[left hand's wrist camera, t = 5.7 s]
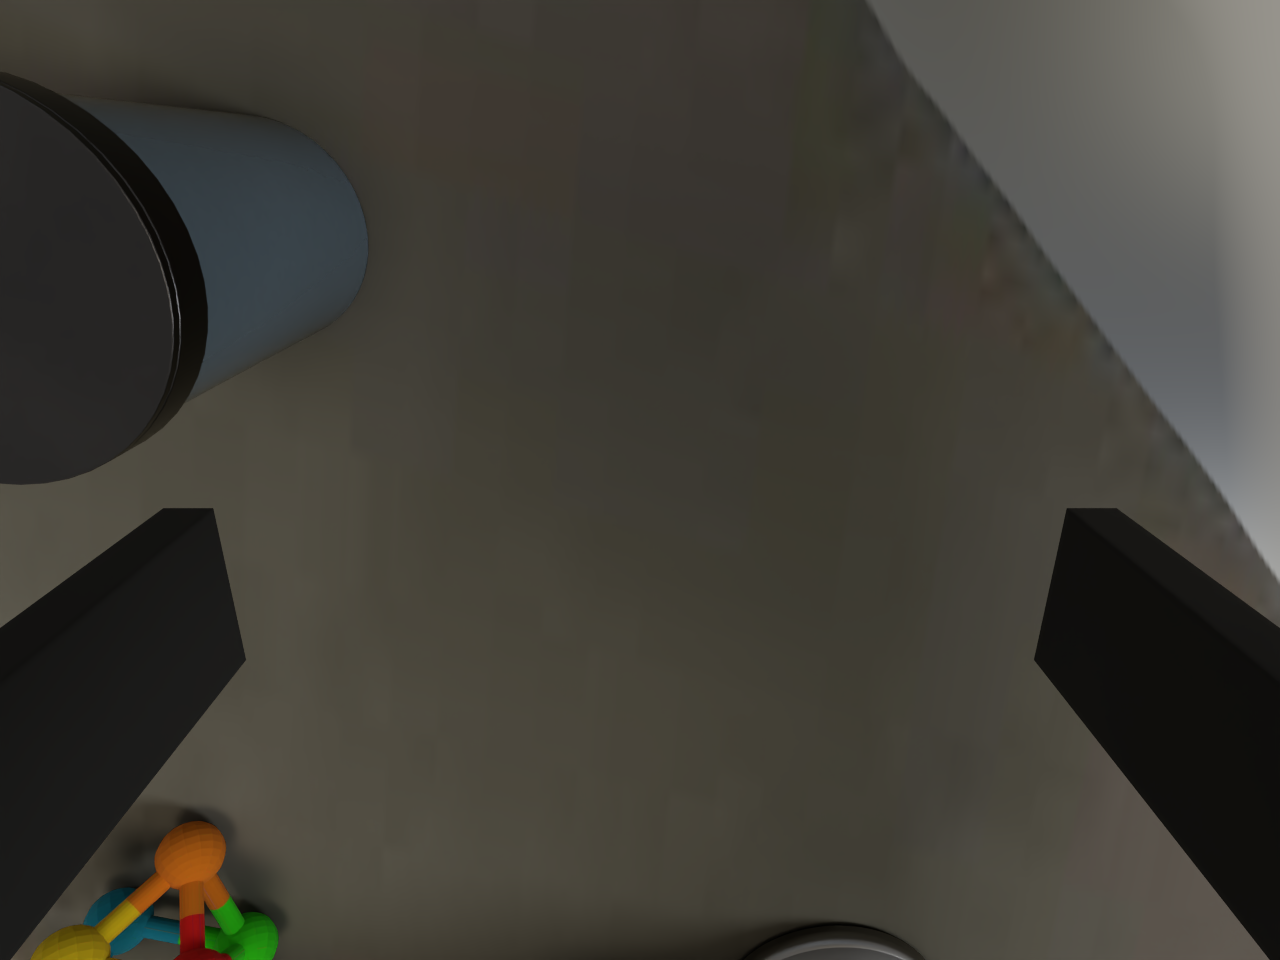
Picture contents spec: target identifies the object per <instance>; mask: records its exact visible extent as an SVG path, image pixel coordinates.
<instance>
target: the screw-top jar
mask: <svg viewBox="0 0 1280 960" xmlns="http://www.w3.org/2000/svg"><path fill="white" fill-rule="evenodd" d="M57 94H59V95H61V96H63V97H65V98H66V99H68V100H70V101H71V102H73V103H74V104H76V105H78V106H79V107H81V108H82V109H84V110H86V111H87V112H89V113H90V114H91V115H93V116H94V117H95V118H97V119H98V120H99V121H100V122H102V123H103V124H104V125H105V126H107V127H108V128H109V129H111V130H112V131H113V132H114V133H115V134H116V135H118V136H119V137H120V138H121V139H122V140H123V141H124V142H125V143H126V144H127V145H128V146H129V147H130V148H131V149H132V150H133V151H134V152H135V153H136V154H137V155H138V156H139V157H140V158H141V160H142V161H143V162H144V163H145V164H146V166H147V167H148V168H149V169H150V170H151V172H152V173H153V174H154V175H155V176H156V178H157V179H158V180H159V182H160V183H161V185H162V186H163V188H164V189H165V191H166V192H167V194H168V195H169V197H170V198H171V200H172V201H173V203H174V204H175V206H176V208H177V210H178V212H179V214H180V216H181V218H182V220H183V221H184V223H185V225H186V227H187V229H188V231H189V234H190V237H191V239H192V242H193V244H194V247H195V249H196V252H197V254H198V258H199V261H200V265H201V269H202V273H203V277H204V281H205V288H206V295H207V303H208V335H207V342H206V349H205V355H204V359H203V362H202V366H201V369H200V372H199V376H198V378H197V380H196V382H195V384H194V386H193V388H192V391H191V393H190V395H189V397H188V398H187V399H186V401H185V402H184V403H186V402H188V401H190V400H191V399H193V398H195V397H197V396H199V395H201V394H203V393H204V392H206V391H208V390H210V389H212V388H214V387H216V386H217V385H219V384H221V383H223V382H225V381H227V380H229V379H230V378H232V377H234V376H236V375H238V374H240V373H242V372H243V371H245V370H247V369H249V368H251V367H253V366H255V365H257V364H258V363H260V362H262V361H264V360H266V359H268V358H270V357H271V356H273V355H275V354H277V353H279V352H281V351H283V350H284V349H286V348H288V347H290V346H292V345H294V344H296V343H297V342H299V341H301V340H303V339H305V338H307V337H309V336H310V335H312V334H314V333H316V332H318V331H320V330H322V329H324V328H325V327H327V326H328V325H330V324H331V323H333V322H334V321H335V320H337V319H338V318H339V317H340V316H341V315H342V314H343V313H344V312H345V311H346V309H347V308H348V307H349V305H350V304H351V303H352V301H353V300H354V298H355V296H356V294H357V292H358V291H359V289H360V286H361V283H362V281H363V278H364V275H365V270H366V265H367V257H368V237H367V229H366V223H365V218H364V215H363V212H362V208H361V205H360V202H359V200H358V198H357V196H356V193H355V191H354V189H353V187H352V186H351V184H350V182H349V180H348V179H347V177H346V175H345V174H344V173H343V171H342V170H341V169H340V167H339V166H338V165H337V163H336V162H335V161H334V160H333V159H332V158H331V157H330V156H329V155H328V154H327V153H326V152H325V150H323V149H322V148H321V147H320V146H319V145H317V144H316V143H315V142H314V141H313V140H311V139H310V138H308V137H307V136H305V135H304V134H302V133H301V132H299V131H298V130H296V129H294V128H292V127H290V126H288V125H286V124H283V123H281V122H278V121H275V120H272V119H269V118H265V117H260V116H255V115H247V114H238V113H229V112H220V111H212V110H203V109H194V108H185V107H176V106H167V105H158V104H149V103H140V102H131V101H122V100H113V99H104V98H95V97H86V96H78V95H69V94H60V93H57Z"/></svg>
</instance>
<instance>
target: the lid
mask: <svg viewBox="0 0 1280 960" xmlns="http://www.w3.org/2000/svg"><path fill="white" fill-rule="evenodd" d="M207 335H208V303H207V295H206V288H205V281H204V277H203V273H202V269H201V265H200V261H199V258H198V254H197V252H196V249H195V247H194V244H193V242H192V239H191V237H190V234H189V231H188V229H187V227H186V225H185V223H184V221H183V220H182V218H181V216H180V214H179V212H178V210H177V208H176V206H175V204H174V203H173V201H172V200H171V198H170V197H169V195H168V194H167V192H166V191H165V189H164V188H163V186H162V185H161V183H160V182H159V180H158V179H157V178H156V176H155V175H154V174H153V173H152V172H151V170H150V169H149V168H148V167H147V166H146V164H145V163H144V162H143V161H142V160H141V158H140V157H139V156H138V155H137V154H136V153H135V152H134V151H133V150H132V149H131V148H130V147H129V146H128V145H127V144H126V143H125V142H124V141H123V140H122V139H121V138H120V137H119V136H118V135H116V134H115V133H114V132H113V131H112V130H111V129H109V128H108V127H107V126H105V125H104V124H103V123H102V122H100V121H99V120H98V119H97V118H95V117H94V116H93V115H91V114H90V113H89V112H87V111H86V110H84V109H82V108H81V107H79V106H78V105H76V104H74V103H73V102H71V101H70V100H68V99H66V98H65V97H63V96H61V95H59V94H57V93H55V92H53V91H51V90H49V89H47V88H45V87H43V86H41V85H39V84H36V83H34V82H31V81H28V80H26V79H23V78H20V77H17V76H14V75H11V74H8V73H5V72H0V484H16V485H25V484H41V483H49V482H54V481H60V480H65V479H69V478H72V477H75V476H78V475H81V474H84V473H87V472H90V471H92V470H94V469H96V468H97V467H99V466H101V465H103V464H105V463H107V462H109V461H111V460H112V459H114V458H116V457H118V456H119V455H121V454H123V453H125V452H126V451H128V450H130V449H132V448H133V447H135V446H137V445H139V444H140V443H142V442H144V441H146V440H147V439H148V438H150V437H151V436H153V435H154V434H155V433H157V432H158V431H159V430H161V429H162V428H163V427H164V426H165V425H166V424H167V423H168V422H169V421H170V420H171V419H172V418H173V417H174V416H175V415H176V414H177V412H178V411H179V410H180V408H181V407H182V405H183V404H184V402H185V401H186V399H187V398H188V397H189V395H190V393H191V391H192V388H193V386H194V384H195V382H196V380H197V378H198V376H199V372H200V369H201V366H202V362H203V359H204V355H205V349H206V342H207Z"/></svg>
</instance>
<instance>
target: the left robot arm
mask: <svg viewBox="0 0 1280 960" xmlns="http://www.w3.org/2000/svg"><path fill="white" fill-rule="evenodd" d="M245 660H246V658H245V653H244V649H243V644H242V639H241V635H240V630H239V625H238V621H237V616H236V612H235V607H234V602H233V598H232V593H231V589H230V584H229V579H228V575H227V570H226V565H225V561H224V556H223V552H222V547H221V542H220V538H219V533H218V528H217V524H216V519H215V515H214V510H213V508H163V509H162V510H160V511H159V512H158V513H156V514H155V515H154V516H152V517H151V518H150V519H148V520H147V521H145V522H144V523H143V524H141V525H140V526H139V527H137V528H136V529H135V530H133V531H132V532H130V533H129V534H128V535H126V536H125V537H124V538H122V539H121V540H120V541H118V542H117V543H115V544H114V545H113V546H111V547H110V548H109V549H107V550H106V551H105V552H103V553H102V554H100V555H99V556H98V557H96V558H95V559H94V560H92V561H91V562H90V563H88V564H87V565H86V566H84V567H83V568H81V569H80V570H79V571H77V572H76V573H75V574H73V575H72V576H71V577H69V578H68V579H66V580H65V581H64V582H62V583H61V584H60V585H58V586H57V587H56V588H54V589H53V590H51V591H50V592H49V593H47V594H46V595H45V596H43V597H42V598H41V599H39V600H38V601H36V602H35V603H34V604H32V605H31V606H30V607H28V608H27V609H26V610H24V611H23V612H21V613H20V614H19V615H17V616H16V617H15V618H13V619H12V620H11V621H9V622H8V623H6V624H5V625H4V626H2V627H1V628H0V960H10V959H11V958H12V957H13V956H14V954H15V953H16V952H17V951H18V949H19V948H20V947H21V945H22V944H23V943H24V942H25V940H26V939H27V938H28V937H29V935H30V934H31V933H32V931H33V930H34V929H35V928H36V926H37V925H38V924H39V923H40V921H41V920H42V919H43V917H44V916H45V915H46V914H47V912H48V911H49V910H50V909H51V907H52V906H53V905H54V903H55V902H56V901H57V900H58V898H59V897H60V896H61V895H62V893H63V892H64V891H65V889H66V888H67V887H68V886H69V884H70V883H71V882H72V881H73V879H74V878H75V877H76V875H77V874H78V873H79V872H80V870H81V869H82V868H83V867H84V865H85V864H86V863H87V861H88V860H89V859H90V858H91V856H92V855H93V854H94V853H95V851H96V850H97V849H98V847H99V846H100V845H101V844H102V842H103V841H104V840H105V839H106V837H107V836H108V835H109V833H110V832H111V831H112V830H113V828H114V827H115V826H116V825H117V823H118V822H119V821H120V819H121V818H122V817H123V816H124V814H125V813H126V812H127V811H128V809H129V808H130V807H131V805H132V804H133V803H134V802H135V800H136V799H137V798H138V797H139V795H140V794H141V793H142V791H143V790H144V789H145V788H146V786H147V785H148V784H149V783H150V781H151V780H152V779H153V777H154V776H155V775H156V774H157V772H158V771H159V770H160V769H161V767H162V766H163V765H164V763H165V762H166V761H167V760H168V758H169V757H170V756H171V755H172V753H173V752H174V751H175V749H176V748H177V747H178V746H179V744H180V743H181V742H182V741H183V739H184V738H185V737H186V735H187V734H188V733H189V732H190V730H191V729H192V728H193V727H194V725H195V724H196V723H197V721H198V720H199V719H200V718H201V716H202V715H203V714H204V713H205V711H206V710H207V709H208V707H209V706H210V705H211V704H212V702H213V701H214V700H215V699H216V697H217V696H218V695H219V693H220V692H221V691H222V690H223V688H224V687H225V686H226V685H227V683H228V682H229V681H230V679H231V678H232V677H233V676H234V674H235V673H236V672H237V671H238V669H239V668H240V667H241V665H242V664H243V663H244V662H245ZM1034 660H1035V662H1036V663H1037V664H1038V665H1039V667H1040V668H1041V669H1042V671H1043V672H1044V673H1045V674H1046V676H1047V677H1048V678H1049V679H1050V681H1051V682H1052V683H1053V685H1054V686H1055V687H1056V688H1057V690H1058V691H1059V692H1060V693H1061V695H1062V696H1063V697H1064V699H1065V700H1066V701H1067V702H1068V704H1069V705H1070V706H1071V707H1072V709H1073V710H1074V711H1075V713H1076V714H1077V715H1078V716H1079V718H1080V719H1081V720H1082V721H1083V723H1084V724H1085V725H1086V727H1087V728H1088V729H1089V730H1090V732H1091V733H1092V734H1093V735H1094V737H1095V738H1096V739H1097V741H1098V742H1099V743H1100V744H1101V746H1102V747H1103V748H1104V749H1105V751H1106V752H1107V753H1108V755H1109V756H1110V757H1111V758H1112V760H1113V761H1114V762H1115V763H1116V765H1117V766H1118V767H1119V769H1120V770H1121V771H1122V772H1123V774H1124V775H1125V776H1126V777H1127V779H1128V780H1129V781H1130V783H1131V784H1132V785H1133V786H1134V788H1135V789H1136V790H1137V791H1138V793H1139V794H1140V795H1141V797H1142V798H1143V799H1144V800H1145V802H1146V803H1147V804H1148V805H1149V807H1150V808H1151V809H1152V811H1153V812H1154V813H1155V814H1156V816H1157V817H1158V818H1159V819H1160V821H1161V822H1162V823H1163V825H1164V826H1165V827H1166V828H1167V830H1168V831H1169V832H1170V833H1171V835H1172V836H1173V837H1174V839H1175V840H1176V841H1177V842H1178V844H1179V845H1180V846H1181V847H1182V849H1183V850H1184V851H1185V853H1186V854H1187V855H1188V856H1189V858H1190V859H1191V860H1192V861H1193V863H1194V864H1195V865H1196V867H1197V868H1198V869H1199V870H1200V872H1201V873H1202V874H1203V875H1204V877H1205V878H1206V879H1207V881H1208V882H1209V883H1210V884H1211V886H1212V887H1213V888H1214V889H1215V891H1216V892H1217V893H1218V895H1219V896H1220V897H1221V898H1222V900H1223V901H1224V902H1225V903H1226V905H1227V906H1228V907H1229V909H1230V910H1231V911H1232V912H1233V914H1234V915H1235V916H1236V917H1237V919H1238V920H1239V921H1240V923H1241V924H1242V925H1243V926H1244V928H1245V929H1246V930H1247V931H1248V933H1249V934H1250V935H1251V937H1252V938H1253V939H1254V940H1255V942H1256V943H1257V944H1258V945H1259V947H1260V948H1261V949H1262V951H1263V952H1264V953H1265V954H1266V956H1267V957H1268V958H1269V959H1270V960H1280V628H1279V627H1278V626H1276V625H1275V624H1274V623H1272V622H1271V621H1269V620H1268V619H1267V618H1265V617H1264V616H1263V615H1261V614H1260V613H1259V612H1257V611H1256V610H1254V609H1253V608H1252V607H1250V606H1249V605H1248V604H1246V603H1245V602H1244V601H1242V600H1241V599H1239V598H1238V597H1237V596H1235V595H1234V594H1233V593H1231V592H1230V591H1229V590H1227V589H1226V588H1224V587H1223V586H1222V585H1220V584H1219V583H1218V582H1216V581H1215V580H1214V579H1212V578H1211V577H1209V576H1208V575H1207V574H1205V573H1204V572H1203V571H1201V570H1200V569H1199V568H1197V567H1196V566H1194V565H1193V564H1192V563H1190V562H1189V561H1188V560H1186V559H1185V558H1184V557H1182V556H1181V555H1180V554H1178V553H1177V552H1175V551H1174V550H1173V549H1171V548H1170V547H1169V546H1167V545H1166V544H1165V543H1163V542H1162V541H1160V540H1159V539H1158V538H1156V537H1155V536H1154V535H1152V534H1151V533H1150V532H1148V531H1147V530H1145V529H1144V528H1143V527H1141V526H1140V525H1139V524H1137V523H1136V522H1135V521H1133V520H1132V519H1130V518H1129V517H1128V516H1126V515H1125V514H1124V513H1122V512H1121V511H1120V510H1118V509H1117V508H1067V510H1066V515H1065V519H1064V524H1063V528H1062V533H1061V538H1060V542H1059V547H1058V552H1057V556H1056V561H1055V565H1054V570H1053V575H1052V579H1051V584H1050V589H1049V593H1048V598H1047V602H1046V607H1045V612H1044V616H1043V621H1042V625H1041V630H1040V635H1039V639H1038V644H1037V649H1036V653H1035V658H1034ZM744 960H925V959H924V958H923V957H922V956H921V955H920V954H919V953H918V952H917V951H916V950H915V949H914V948H912V947H911V946H910V945H908V944H907V943H905V942H903V941H901V940H900V939H898V938H896V937H893V936H891V935H889V934H886V933H883V932H880V931H876V930H873V929H868V928H863V927H855V926H822V927H814V928H808V929H803V930H799V931H795V932H792V933H789V934H786V935H783V936H781V937H778V938H776V939H774V940H772V941H770V942H768V943H766V944H764V945H762V946H761V947H759V948H758V949H756V950H755V951H753V952H752V953H751V954H749V955H748V956H747V957H746V958H745V959H744Z"/></svg>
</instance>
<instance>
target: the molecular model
mask: <svg viewBox="0 0 1280 960" xmlns="http://www.w3.org/2000/svg"><path fill="white" fill-rule="evenodd" d="M225 852H226V842H225V840H224V837H223V835H222V834H221V832H220V831H219V830H218V829H217V827H216V826H214V825H212V824H210V823H207V822H203V821H191V822H188V823H184V824H181V825H180V826H178V827H176V828H174V829H173V830H171V831H170V832H169V833H168V834H167V835H166V836H165V837H164V838H163V840H162V842H161V843H160V845H159V847H158V849H157V851H156V854H155V868H156V872H155V873H154V874H153V875H152V876H151V877H150V878H149V879H148V880H146V881H145V882H144V883H143V884H142V885H141V886H140V887H139V888H137V889H135V888H130V887H126V888H118V889H115V890H112V891H110V892H108V893H107V894H105V895H103V896H102V897H101V898H99V899H98V900H97V901H96V902H95V903H94V904H93V905H92V907H91V908H90V910H89V912H88V914H87V915H86V917H85V920H84V923H83V925H82V924H81V925H73V926H68V927H65V928H62V929H60V930H59V931H57V932H55V933H53V934H51V935H50V936H49V937H48V938H46V939H45V940H44V941H43V942H42V943H41V944H40V945H39V946H38V947H37V949H36V950H35V952H34V954H33V955H32V957H31V959H30V960H120V959H115V958H112V956H113V955H119V954H122V953H125V952H127V951H129V950H131V949H132V948H133V947H135V946H136V945H138V944H139V943H140V942H141V941H142V939H143V938H148V939H153V940H158V941H164V942H169V943H174V944H179V945H180V955H179V956H177V957H176V958H175V959H174V960H272V959H273V957H274V955H275V952H276V949H277V946H278V939H279V937H278V931H277V928H276V926H275V924H274V923H273V922H272V920H271V919H270V918H269V917H268V916H266V915H265V914H262V913H258V912H247V913H243V914H241V913H240V911H239V910H238V908H237V906H236V905H235V903H234V901H233V900H232V898H231V896H230V895H229V893H228V891H227V890H226V888H225V886H224V885H223V883H222V881H221V880H220V878H219V876H218V875H217V871H218V870H219V869H220V868H221V865H222V863H223V860H224V857H225ZM170 887H171V888H173V889H177V890H179V901H180V921H178V920H173V919H168V918H163V917H158V916H154V906H153V903H154V902H155V901H156V900H157V899H158V898H159V897H161V896H162V895H163V894H164V893H165V892H166V891H167V890H168V889H169V888H170ZM204 901H205V903H206V904H207V906H208V908H209V909H210V911H211V912H212V914H213V916H214V917H215V919H216V921H217V922H218V924H219V925H220V927H221V929H220V928H214V927H209V926H205V919H204Z"/></svg>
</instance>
